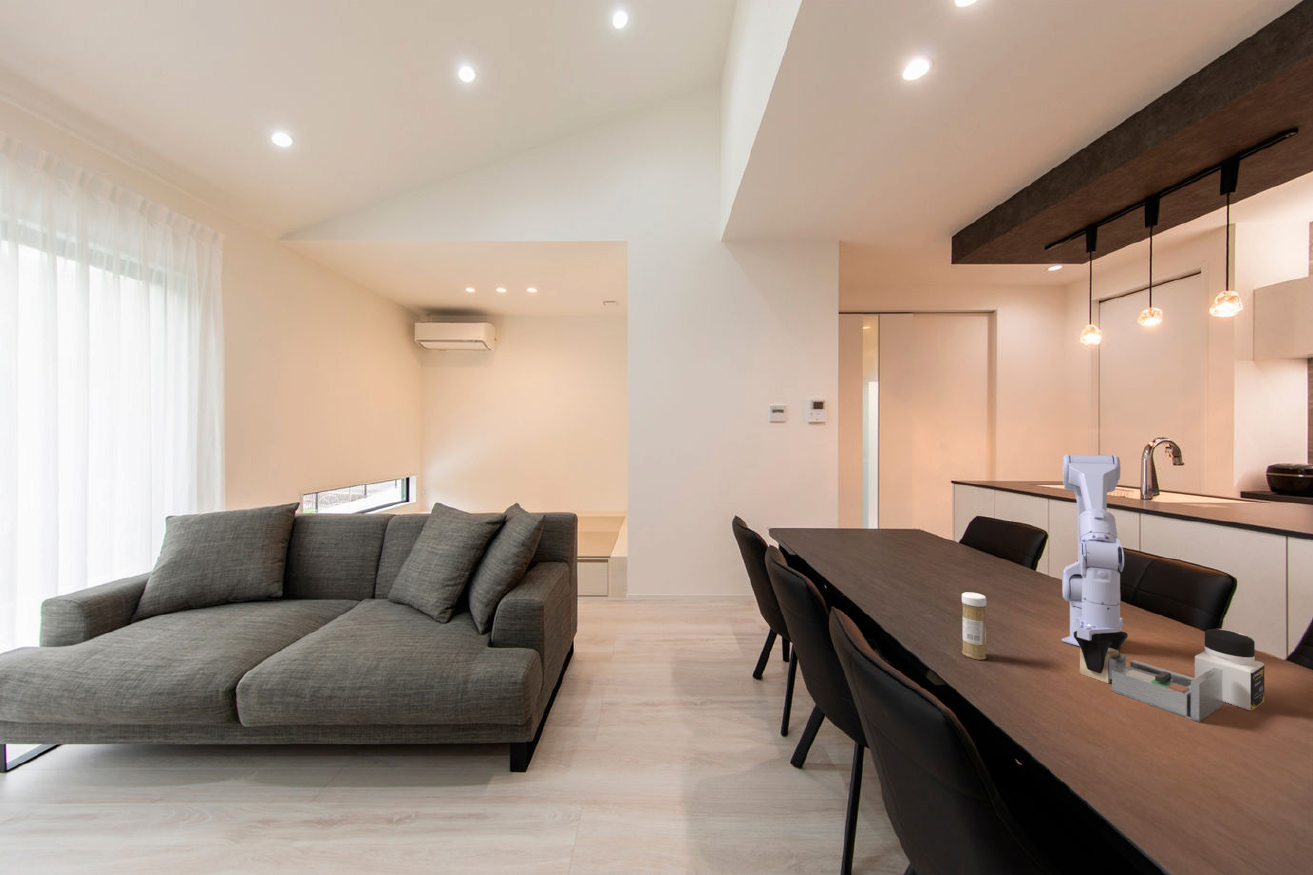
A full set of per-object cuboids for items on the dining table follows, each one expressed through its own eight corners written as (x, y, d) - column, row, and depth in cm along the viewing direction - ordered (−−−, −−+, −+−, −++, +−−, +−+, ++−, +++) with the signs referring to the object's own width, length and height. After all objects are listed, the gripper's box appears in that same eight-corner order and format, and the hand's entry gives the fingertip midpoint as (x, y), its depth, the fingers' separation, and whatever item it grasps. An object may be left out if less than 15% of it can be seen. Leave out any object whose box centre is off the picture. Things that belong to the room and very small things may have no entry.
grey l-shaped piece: (1119, 673, 98) (1119, 651, 98) (1178, 692, 91) (1178, 668, 91) (1101, 681, 95) (1101, 659, 95) (1161, 702, 87) (1161, 677, 87)
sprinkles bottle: (990, 657, 108) (990, 595, 108) (980, 662, 105) (980, 599, 105) (967, 649, 112) (967, 590, 112) (957, 654, 109) (957, 593, 109)
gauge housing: (1137, 678, 98) (1137, 645, 98) (1222, 705, 88) (1222, 669, 88) (1111, 691, 93) (1111, 656, 93) (1199, 722, 83) (1199, 683, 83)
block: (1090, 668, 102) (1090, 642, 102) (1118, 677, 98) (1118, 650, 98) (1079, 673, 100) (1079, 646, 100) (1108, 683, 96) (1108, 655, 96)
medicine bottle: (1252, 711, 86) (1252, 643, 86) (1194, 693, 93) (1193, 629, 93) (1265, 701, 90) (1265, 635, 90) (1208, 684, 96) (1208, 622, 96)
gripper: (1092, 590, 106) (1092, 653, 106) (1058, 600, 99) (1058, 667, 99) (1136, 599, 100) (1136, 666, 100) (1102, 611, 93) (1102, 683, 93)
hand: (1100, 668), depth 99 cm, fingers closed on block, 4 cm apart
